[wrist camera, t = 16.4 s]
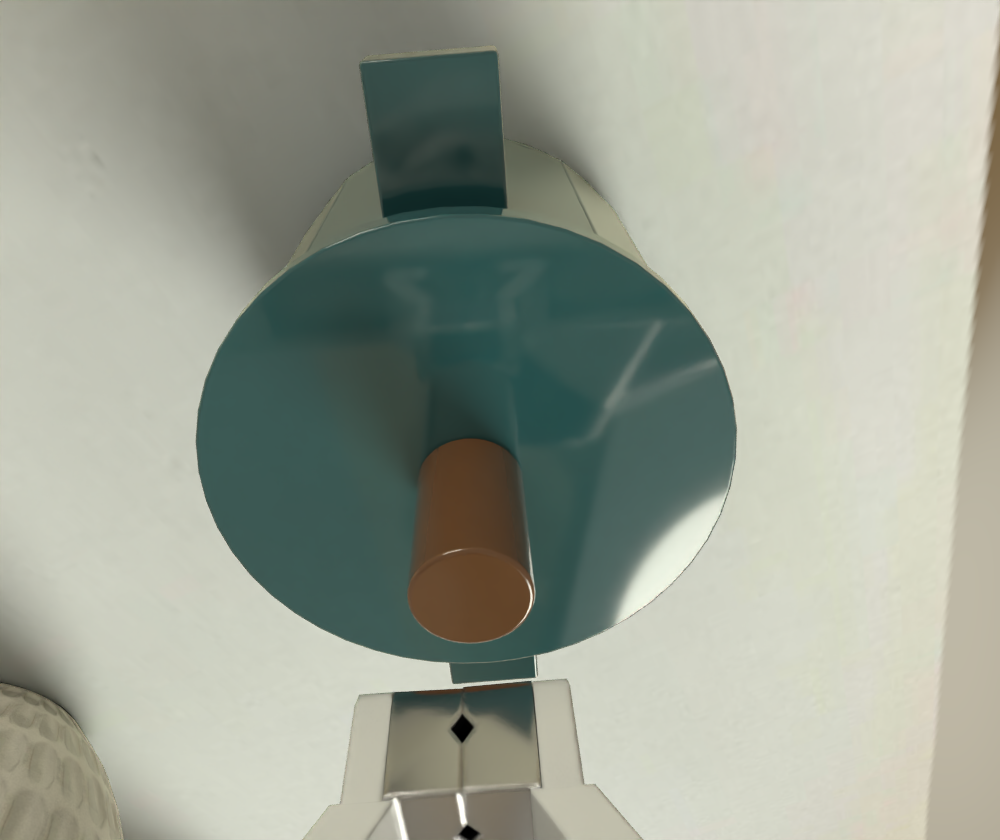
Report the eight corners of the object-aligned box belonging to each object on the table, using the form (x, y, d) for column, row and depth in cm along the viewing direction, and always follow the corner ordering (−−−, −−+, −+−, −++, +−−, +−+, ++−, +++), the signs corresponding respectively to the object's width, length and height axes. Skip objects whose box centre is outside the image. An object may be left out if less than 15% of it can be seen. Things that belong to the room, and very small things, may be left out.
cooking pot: (642, 7, 19) (746, 34, 12) (630, 498, 28) (688, 688, 20) (240, 40, 20) (107, 85, 12) (346, 521, 28) (303, 717, 20)
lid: (745, 172, 14) (856, 255, 10) (703, 611, 20) (763, 775, 16) (141, 221, 14) (11, 324, 10) (276, 644, 20) (228, 817, 16)
